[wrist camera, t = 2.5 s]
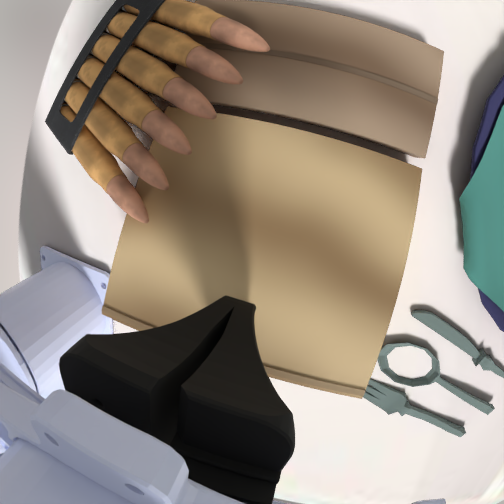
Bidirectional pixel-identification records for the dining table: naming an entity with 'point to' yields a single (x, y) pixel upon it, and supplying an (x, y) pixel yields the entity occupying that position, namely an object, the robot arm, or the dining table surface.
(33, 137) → the dining table surface
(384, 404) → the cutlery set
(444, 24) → the dining table surface
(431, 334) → the dining table surface
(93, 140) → the ammunition clip
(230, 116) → the plank
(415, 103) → the floor row
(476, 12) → the dining table surface
